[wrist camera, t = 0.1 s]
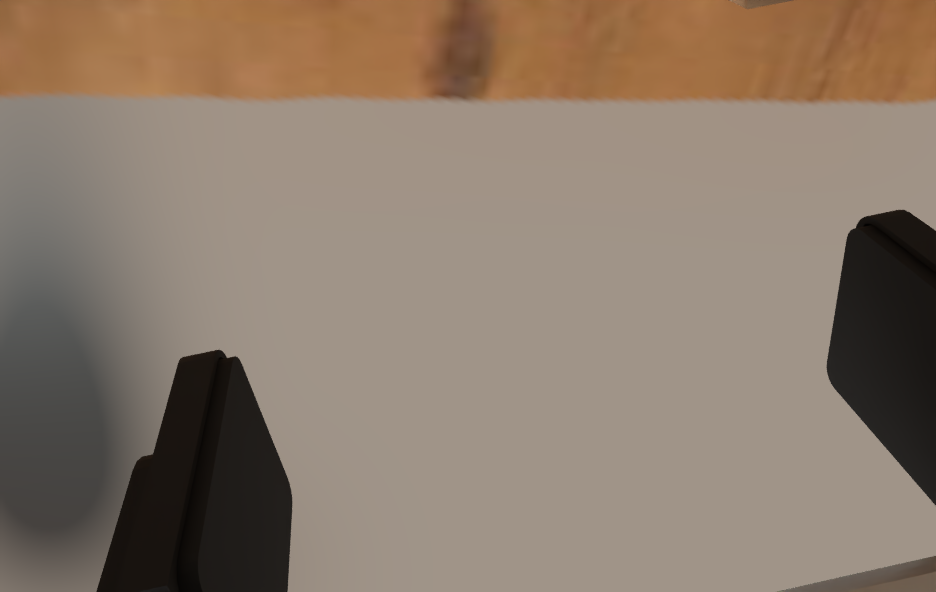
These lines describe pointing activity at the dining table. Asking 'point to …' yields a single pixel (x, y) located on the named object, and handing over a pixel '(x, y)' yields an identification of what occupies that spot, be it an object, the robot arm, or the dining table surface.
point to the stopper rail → (756, 3)
